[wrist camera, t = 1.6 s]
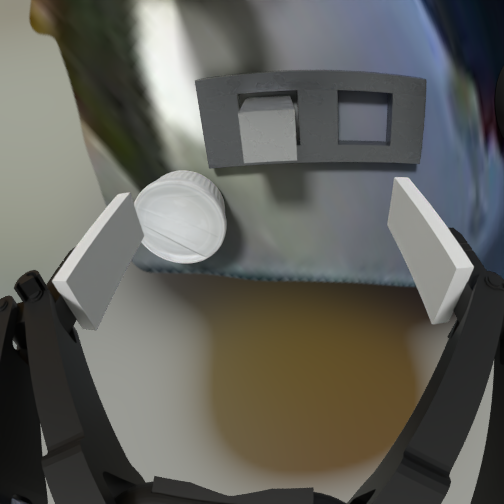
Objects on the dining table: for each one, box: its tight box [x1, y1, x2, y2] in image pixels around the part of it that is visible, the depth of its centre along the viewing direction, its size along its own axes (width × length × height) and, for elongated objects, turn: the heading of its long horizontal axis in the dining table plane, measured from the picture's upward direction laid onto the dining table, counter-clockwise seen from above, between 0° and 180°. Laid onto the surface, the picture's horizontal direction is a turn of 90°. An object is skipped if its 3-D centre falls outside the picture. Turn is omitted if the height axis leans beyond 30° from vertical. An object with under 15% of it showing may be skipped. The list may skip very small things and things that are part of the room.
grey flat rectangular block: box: [195, 70, 426, 169], centre depth 29 cm, size 24×10×2 cm, turn 95°
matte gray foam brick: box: [238, 95, 297, 163], centre depth 27 cm, size 4×4×8 cm
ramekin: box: [134, 170, 227, 263], centre depth 35 cm, size 11×11×5 cm
